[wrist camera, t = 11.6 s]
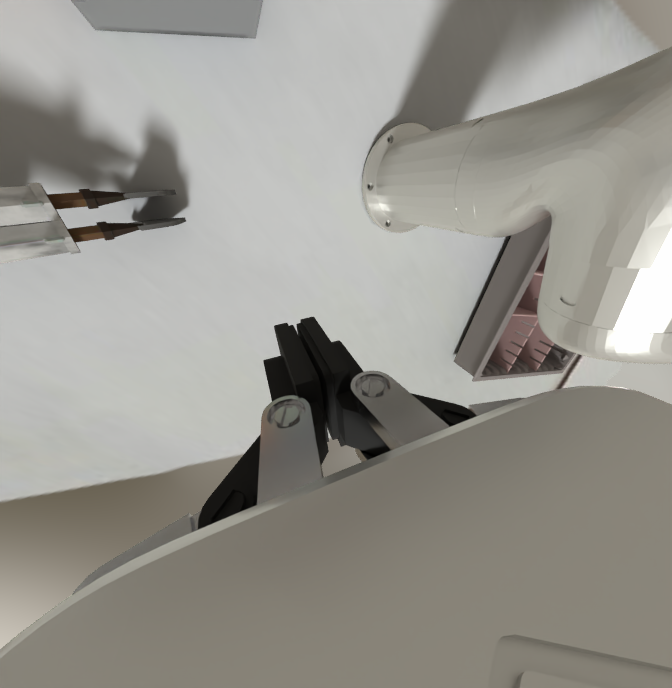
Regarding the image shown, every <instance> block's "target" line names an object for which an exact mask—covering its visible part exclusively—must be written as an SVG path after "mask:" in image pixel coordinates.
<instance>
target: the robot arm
mask: <svg viewBox="0 0 672 688" xmlns="http://www.w3.org/2000/svg"><path fill="white" fill-rule="evenodd" d="M387 138H388V141H387ZM368 185H369V188H367V186H368ZM362 193H363V200H364V204H365V207H366V210H367V212H368V214H369V216H370V217H371V219H372V220H373V221H374V222H375V223H376V224H377V225H378V226H379V227H381V228H382V229H384V230H387V231H390V232H395V233H403V232H408V231H410V230H413V229H415V228H416V227H418V226H420V225H422V226H428V227H433V228H439V229H445V230H450V231H456V232H461V233H467V234H473V235H479V236H485V237H505V236H510V235H514V234H517V233H519V232H522V231H524V230H526V229H528V228H530V227H532V226H534V225H535V224H537V223H539V222H540V221H542V220H544V219H545V218H547V217H548V216H550V215H551V217H552V225H551V232H550V238H549V249H548V254H547V259H546V264H545V269H544V274H543V279H542V283H541V289H540V294H539V299H538V307H537V317H538V323H539V326H540V328H541V330H542V331H543V333H544V334H545V335H546V336H547V337H548V338H549V339H550V340H551V341H552V342H554V343H555V344H557V345H558V346H560V347H562V348H564V349H566V350H568V351H571V352H574V353H577V354H580V355H583V356H587V357H591V358H596V359H602V360H608V361H616V362H627V363H644V364H672V46H671V47H669V48H667V49H665V50H662V51H660V52H658V53H656V54H653V55H651V56H649V57H647V58H645V59H642V60H640V61H638V62H636V63H633V64H631V65H629V66H627V67H624V68H622V69H620V70H618V71H615V72H613V73H610V74H608V75H605V76H603V77H601V78H598V79H596V80H593V81H591V82H588V83H586V84H583V85H581V86H578V87H576V88H573V89H570V90H567V91H564V92H561V93H558V94H555V95H552V96H549V97H546V98H543V99H540V100H537V101H534V102H531V103H528V104H524V105H521V106H518V107H514V108H511V109H507V110H504V111H501V112H497V113H494V114H490V115H487V116H484V117H480V118H477V119H473V120H470V121H466V122H463V123H459V124H456V125H452V126H449V127H445V128H442V129H438V130H435V131H431V130H430V129H428V128H427V127H426V126H424V125H421V124H419V123H412V122H409V123H404V124H400V125H397V126H395V127H393V128H391V129H390V130H388V131H386V132H385V133H384V134H383V135H382V136H381V137H380V138H379V139H378V140H377V142H376V143H375V145H374V146H373V147H372V149H371V151H370V153H369V155H368V157H367V160H366V164H365V167H364V172H363V178H362ZM385 223H386V224H385ZM274 329H275V333H276V337H277V341H278V345H279V350H280V354H281V356H278V357H274V358H270V359H267V360H263V361H264V366H265V371H266V375H267V380H268V384H269V389H270V393H271V398H272V402H271V403H270V404H269V405H268V406H267V407H266V408H265V410H264V411H263V414H262V420H261V434H260V436H259V437H258V438H257V439H256V441H255V442H254V443H253V444H252V445H251V447H250V448H249V449H248V450H247V452H246V453H245V454H244V455H243V456H242V458H241V459H240V460H239V461H238V463H237V464H236V465H235V466H234V468H233V469H232V470H231V471H230V472H229V474H228V475H227V476H226V477H225V479H224V480H223V481H222V482H221V484H220V485H219V486H218V487H217V489H216V490H215V491H214V492H213V493H212V495H211V496H210V497H209V498H208V500H207V501H206V503H205V504H204V506H203V508H202V510H201V511H200V512H198V513H196V514H195V515H193V516H191V515H190V514H189V513H188V514H187V515H185V516H183V517H182V518H180V519H179V520H177V521H175V522H173V523H172V524H170V525H168V526H167V527H165V528H164V529H162V530H160V531H159V532H157V533H155V534H154V535H152V536H150V537H149V538H147V539H145V540H144V541H142V542H140V543H139V544H137V545H135V546H134V547H132V548H130V549H129V550H127V551H125V552H124V553H122V554H120V555H119V556H117V557H115V558H114V559H112V560H110V561H109V562H107V563H105V564H104V565H102V566H101V567H99V568H98V569H97V570H95V571H94V572H93V573H92V574H90V575H89V576H88V577H87V578H86V579H85V580H84V581H83V582H82V583H81V584H80V585H79V586H78V588H77V589H76V590H75V591H74V593H73V594H72V596H70V597H69V598H67V599H65V600H64V601H62V602H61V603H60V604H58V605H57V606H56V607H54V608H53V609H51V610H50V611H49V612H47V613H46V614H45V615H43V616H42V617H41V618H40V619H38V620H37V621H36V622H34V623H33V624H31V625H30V626H29V627H27V628H26V629H25V630H23V631H22V632H21V633H20V634H18V635H17V636H16V637H14V638H13V639H12V640H11V641H10V642H9V643H7V644H6V645H5V646H4V647H3V648H2V649H0V688H672V405H671V404H669V403H666V402H664V401H662V400H659V399H657V398H654V397H652V396H649V395H647V394H644V393H642V392H639V391H636V390H631V389H627V388H620V387H611V386H578V387H570V388H563V389H557V390H553V391H549V392H544V393H540V394H537V395H534V396H531V397H528V398H515V399H508V400H501V401H494V402H487V403H480V404H473V405H469V407H468V409H467V408H465V407H463V406H460V405H457V404H454V403H449V402H445V401H441V400H437V399H432V398H428V397H424V396H420V395H416V394H411V393H409V392H408V391H407V390H406V389H405V388H403V387H402V386H401V385H400V384H399V383H397V382H396V381H395V380H394V379H393V378H391V377H390V376H389V375H387V374H385V373H382V372H379V371H366V372H363V370H362V369H361V368H360V366H359V365H358V364H357V362H356V361H355V360H354V358H353V357H352V356H351V354H350V353H349V352H348V350H347V349H346V348H345V346H344V345H343V344H342V343H341V342H340V341H335V342H331V341H330V340H329V338H328V337H327V335H326V334H325V332H324V331H323V329H322V328H321V327H320V325H319V324H318V322H317V321H316V319H315V318H314V317H310V318H305V319H301V323H299V324H297V331H298V334H297V332H296V330H295V328H294V326H293V325H290V326H288V324H287V323H284V324H279V325H275V326H274ZM327 428H328V430H329V433H330V435H331V437H332V439H333V440H334V439H338V441H339V443H340V445H341V446H344V445H348V446H351V447H353V448H355V452H356V454H357V456H358V458H359V459H360V460H361V463H359V464H356V465H354V466H351V467H349V468H347V469H344V470H342V471H339V472H337V473H334V474H332V475H329V476H327V477H323V472H322V466H321V465H322V463H323V461H324V459H325V457H326V455H327V453H328V445H327V442H329V438H328V432H327Z"/></svg>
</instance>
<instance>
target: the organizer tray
mask: <svg viewBox="0 0 672 688" xmlns="http://www.w3.org/2000/svg"><path fill="white" fill-rule="evenodd" d="M551 225H552V217H551V215H550V216H548V217H547V218H545V219H544V220H542V221H540V222H539V223H537V224H535V225H534V226H532V227H530V228H528V229H526V230H524V231H522V232H519V233H517V234H514V235H512V236H511V238H510V240H509V242H508V244H507V246H506V249H505V251H504V253H503V255H502V257H501V259H500V258H498V259H500V262H499V264H498V266H497V268H496V270H495V272H494V275H493V277H492V279H491V281H490V283H489V286H488V288H487V290H486V292H485V294H484V296H483V299H482V301H481V303H480V305H479V307H478V309H477V312H476V314H475V316H474V318H473V320H472V323H471V325H470V327H469V329H468V331H467V333H466V336H465V338H464V340H463V342H462V344H461V346H460V349H459V351H458V353H457V355H456V357H455V360H454V362H455V363H456V364H458V365H459V366H460V367H462V368H463V369H464V370H466V371H467V372H468V373H470V374H471V375H472V376H474V378H473V380H472V381H473V382H474V381H484V380H495V379H505V378H516V377H526V376H537V375H547V374H558V373H563V371H564V370H565V368H566V367H567V366H568V364H569V363H570V361H571V360H572V358H573V357H574V356H575V354H576V353H574V352H571V351H568V350H566V349H564V348H562V347H560V346H558V345H557V344H555V343H554V342H552V341H551V340H550V339H549V338H548V337H547V336H546V335H545V334H544V333H543V331H542V330H541V328H540V326H539V323H538V317H537V307H538V299H539V294H540V289H541V283H542V279H543V274H544V269H545V264H546V259H547V254H548V249H549V238H550V232H551Z"/></svg>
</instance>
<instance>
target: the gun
mask: <svg viewBox="0 0 672 688" xmlns="http://www.w3.org/2000/svg"><path fill="white" fill-rule="evenodd" d="M28 184H29V186H17V187H0V264H2V263H8V262H14V261H20V260H26V259H32V258H37V257H43V256H49V255H55V254H61V253H67V252H70V253H71V254H74V253H80V250H79V248H78V246H77V244H76V243H75V242H81V241H88V240H94V239H101V238H105V240H111V239H114V237H117V236H120V235H123V234H127V233H130V232H133V231H136V230H142V231H143V230H149V229H156V228H162V227H169V226H174V225H178V224H181V223H183V222H186V220H185V218H170V219H159V220H149V221H141V222H134V223H106V222H98V223H97V225H95V226H88V227H80V228H72V229H67V227H66V226H65V224H64V222H63V221H62V219H61V217H60V216H59V214H58V212H57V210H56V209H64V208H75V207H85V206H88V208H89V209H93V208H99V207H98V206H101V205H105V204H109V203H113V202H118V201H122V200H126V199H130V198H140V197H151V196H162V195H174V194H176V192H175V190H163V191H149V192H136V193H120V192H104V191H90V189H79V191H80V192H78V193H64V194H49V195H47V194H46V192H45V190H44V189H43V187H42V185H41V184H40V183H28ZM42 221H46V222H42ZM33 222H37V223H33ZM24 223H28V224H24ZM15 224H19V225H15ZM7 225H10V226H7Z"/></svg>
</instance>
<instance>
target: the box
mask: <svg viewBox="0 0 672 688" xmlns="http://www.w3.org/2000/svg"><path fill="white" fill-rule="evenodd" d="M71 1H72V2H73V3H74V5H75V6H76V7H77V8H78V9H79V11H80V12H81V13H82V14H83V16H84V17H85V18H86V19H87V21H88V22H89V23H90V24H91V25H92V27H93V28H94V29H95V30H103V31H122V32H141V33H161V34H180V35H200V36H219V37H238V38H255V37H256V32H257V27H258V21H259V16H260V11H261V6H262V0H71Z"/></svg>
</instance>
